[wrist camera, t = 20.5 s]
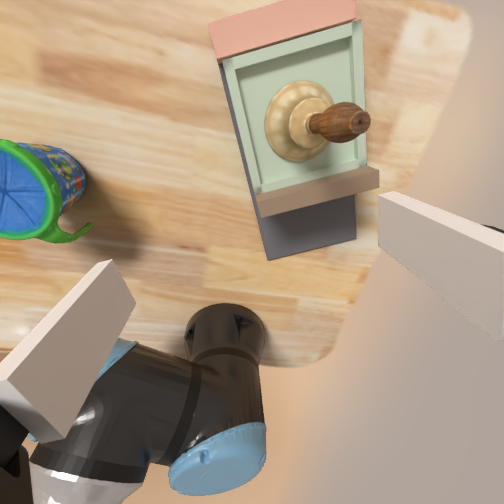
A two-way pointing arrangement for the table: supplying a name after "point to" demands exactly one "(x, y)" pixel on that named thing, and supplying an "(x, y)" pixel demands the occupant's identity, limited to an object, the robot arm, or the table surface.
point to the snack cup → (38, 191)
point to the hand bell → (310, 121)
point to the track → (227, 46)
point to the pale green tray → (261, 93)
